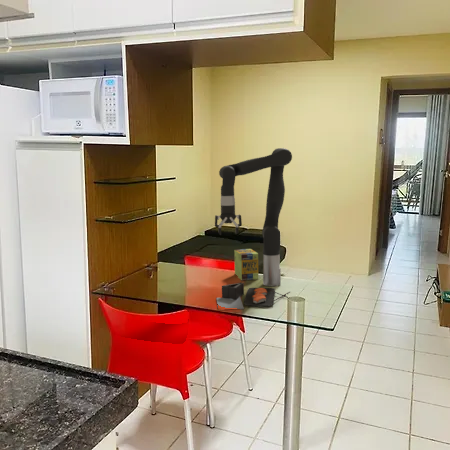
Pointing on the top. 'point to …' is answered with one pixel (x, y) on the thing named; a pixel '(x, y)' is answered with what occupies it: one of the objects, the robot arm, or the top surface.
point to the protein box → (246, 264)
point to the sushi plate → (260, 297)
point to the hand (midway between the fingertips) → (228, 234)
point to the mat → (230, 303)
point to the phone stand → (233, 291)
